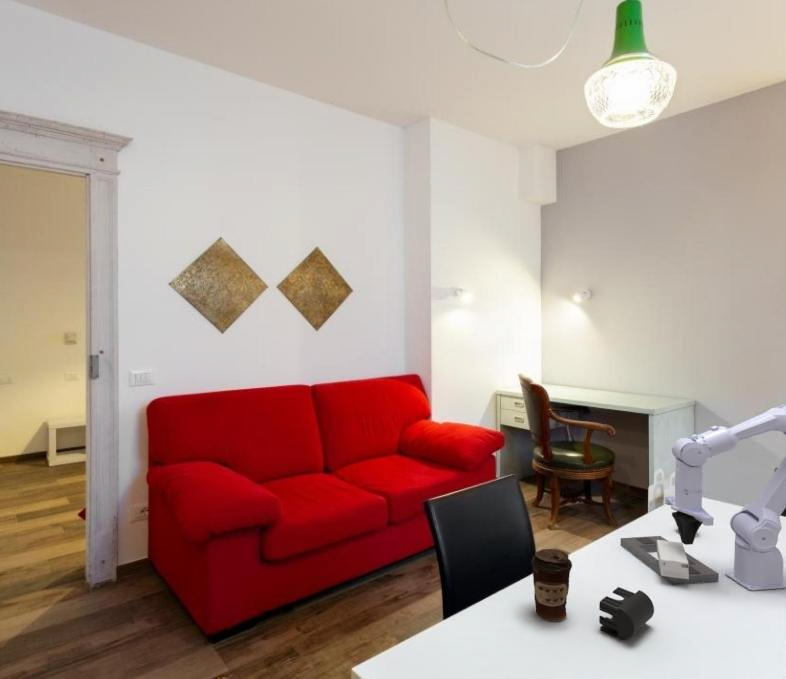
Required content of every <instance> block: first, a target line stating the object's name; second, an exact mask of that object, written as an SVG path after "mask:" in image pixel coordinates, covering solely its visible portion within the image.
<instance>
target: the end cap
mask: <svg viewBox="0 0 786 679" xmlns="http://www.w3.org/2000/svg"><path fill="white" fill-rule="evenodd" d="M612 594H614V595H616V596H619V597H621V598H622V599H615V598H612V597H610V596H607V595H606V596H604V597H603V598H602V599H601V600H600V601H599V604H598V605H599V611H601V612H603V613H605V614H608V615H610V616H612V617H608V616H605V617H604V616H602V615H599V616H598V623H599V625H600V627H599V631H600V632H602V633H604V634H606V635H608V636H611V637H612V638H614V639H617V640H619V641H624V640H628V639H630V638H631V637H632V636H633V635H635V634H636V633H637V632H638V631H640V629H642V628H643V626H644V625H646V624H647V622H648V621H649V620H650V619H652V618H653V616H654V614H655V607H654V603H653V601H652V599H651V598H650V596H649V595H647V594H646V592H644V591H642V590H637V591H636V592H633V591H630V590H627V589H625V588H622V587H620V586H617V587H616V588H615V589H614V590H613V591H612Z"/></svg>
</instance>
